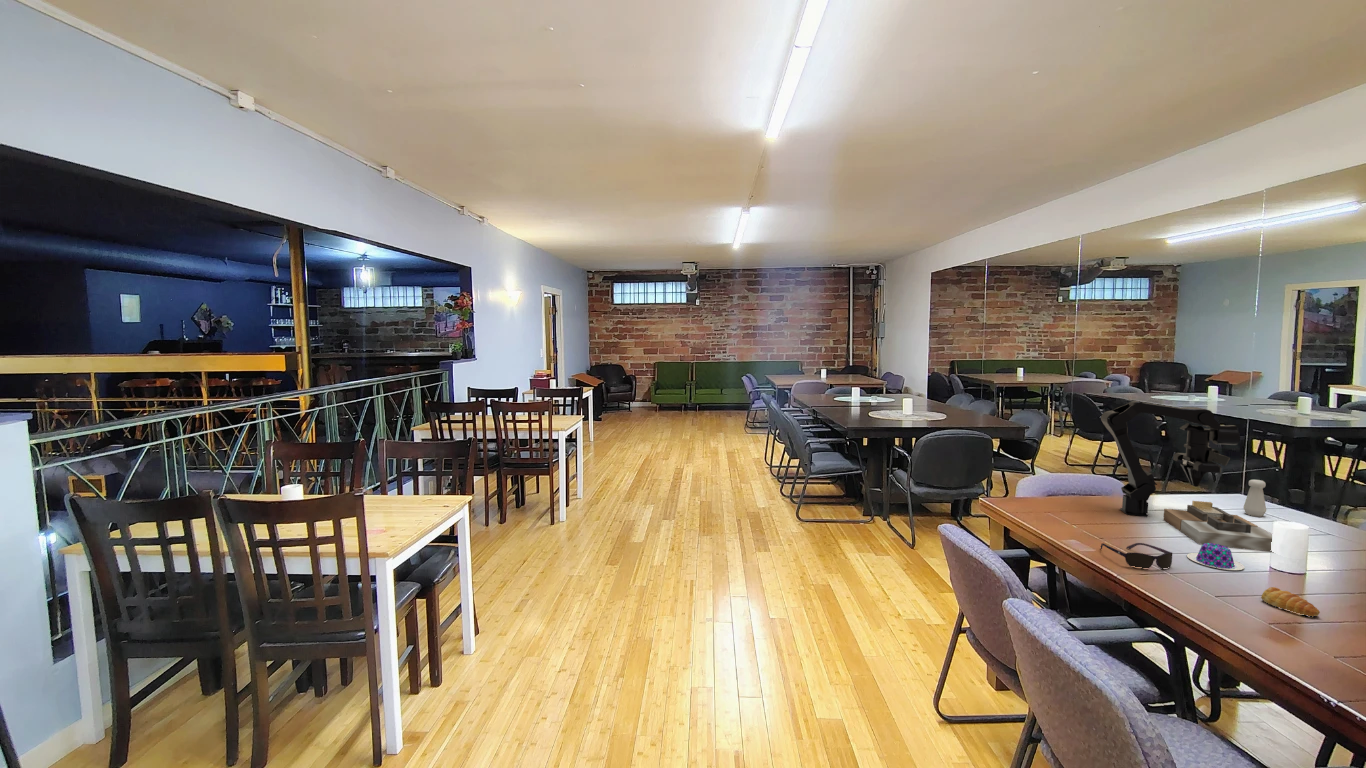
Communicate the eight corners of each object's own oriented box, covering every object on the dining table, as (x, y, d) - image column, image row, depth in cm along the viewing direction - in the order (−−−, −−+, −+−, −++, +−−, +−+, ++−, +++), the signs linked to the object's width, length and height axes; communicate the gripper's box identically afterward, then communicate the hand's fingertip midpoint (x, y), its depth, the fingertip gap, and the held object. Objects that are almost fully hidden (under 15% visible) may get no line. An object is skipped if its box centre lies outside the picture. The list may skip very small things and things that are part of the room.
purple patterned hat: (1176, 558, 161) (1178, 541, 161) (1202, 553, 165) (1204, 536, 165) (1227, 575, 150) (1229, 557, 150) (1254, 569, 154) (1256, 551, 153)
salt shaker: (1270, 517, 195) (1274, 482, 194) (1254, 517, 195) (1257, 482, 194) (1254, 512, 201) (1257, 478, 199) (1238, 512, 201) (1241, 478, 199)
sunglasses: (1131, 571, 153) (1132, 554, 152) (1090, 549, 169) (1091, 533, 168) (1179, 571, 153) (1181, 554, 152) (1134, 549, 169) (1135, 533, 168)
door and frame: (1199, 543, 171) (1200, 524, 171) (1163, 519, 194) (1164, 501, 193) (1282, 552, 164) (1284, 531, 164) (1235, 526, 186) (1237, 507, 186)
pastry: (1327, 618, 127) (1329, 602, 127) (1305, 621, 126) (1306, 605, 126) (1277, 599, 136) (1279, 584, 136) (1256, 601, 135) (1257, 587, 135)
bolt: (1203, 517, 183) (1204, 507, 182) (1191, 510, 190) (1192, 500, 190) (1223, 519, 181) (1223, 509, 181) (1209, 512, 188) (1210, 502, 188)
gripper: (1243, 449, 181) (1239, 495, 182) (1212, 439, 198) (1208, 481, 199) (1200, 447, 185) (1197, 492, 186) (1174, 437, 202) (1170, 478, 203)
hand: (1194, 485), depth 194 cm, fingers closed
